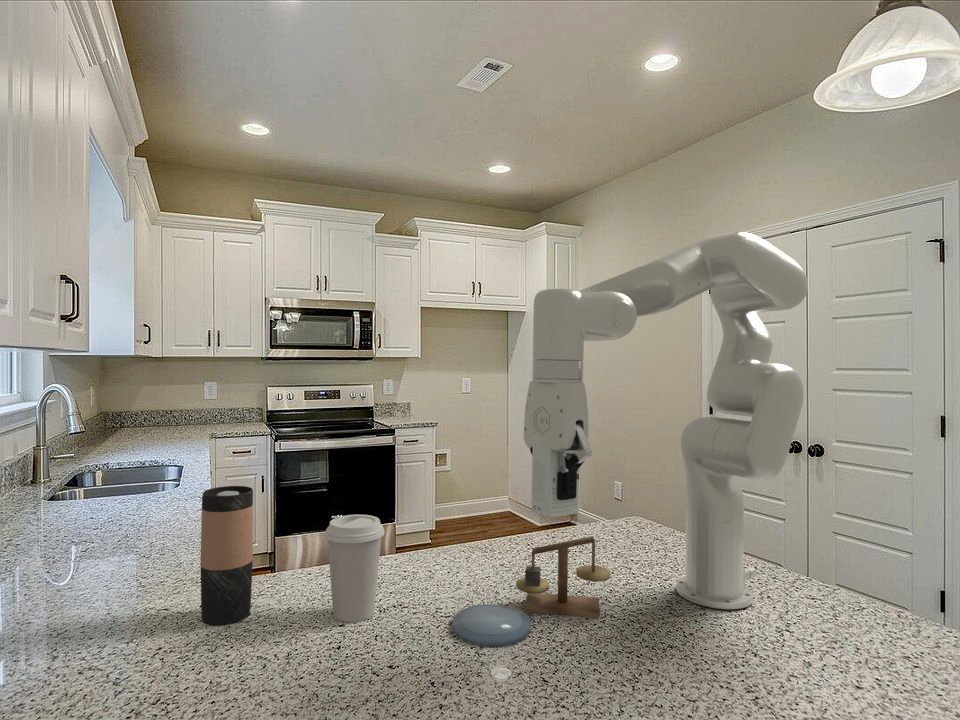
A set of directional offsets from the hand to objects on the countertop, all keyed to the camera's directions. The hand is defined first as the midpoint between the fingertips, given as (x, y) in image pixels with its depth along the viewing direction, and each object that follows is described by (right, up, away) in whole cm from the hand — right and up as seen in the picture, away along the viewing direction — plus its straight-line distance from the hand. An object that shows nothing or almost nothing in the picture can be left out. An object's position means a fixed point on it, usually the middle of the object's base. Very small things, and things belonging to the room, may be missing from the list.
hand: (555, 494), depth 85 cm
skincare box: (0, -3, 0) cm, 3 cm away
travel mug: (-52, -21, +6) cm, 56 cm away
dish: (-9, -21, +3) cm, 24 cm away
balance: (+3, -22, +11) cm, 24 cm away
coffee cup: (-32, -21, +8) cm, 39 cm away
